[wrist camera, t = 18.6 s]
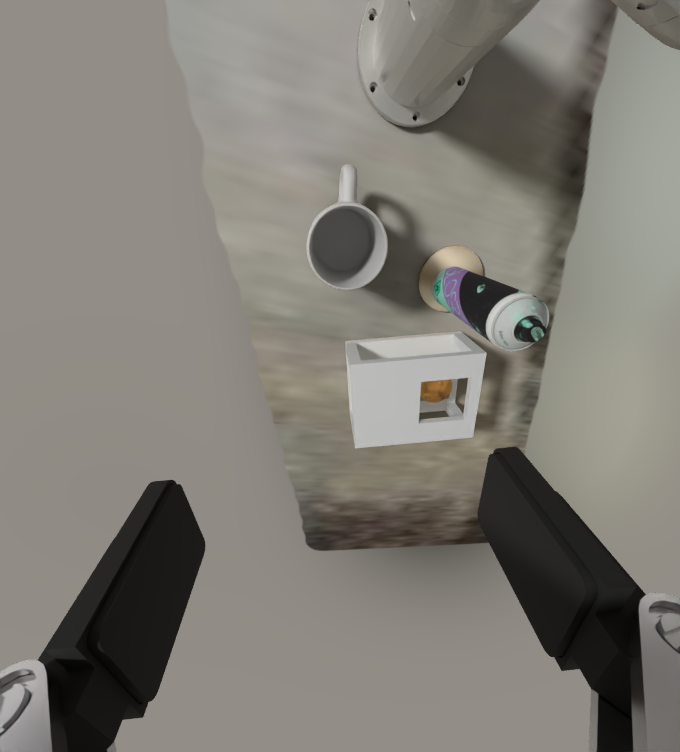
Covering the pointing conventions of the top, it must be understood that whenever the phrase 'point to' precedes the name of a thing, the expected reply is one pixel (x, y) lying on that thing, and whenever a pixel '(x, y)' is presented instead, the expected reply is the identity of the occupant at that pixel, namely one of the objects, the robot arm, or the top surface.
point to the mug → (347, 239)
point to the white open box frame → (411, 387)
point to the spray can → (492, 308)
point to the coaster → (441, 261)
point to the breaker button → (435, 390)
